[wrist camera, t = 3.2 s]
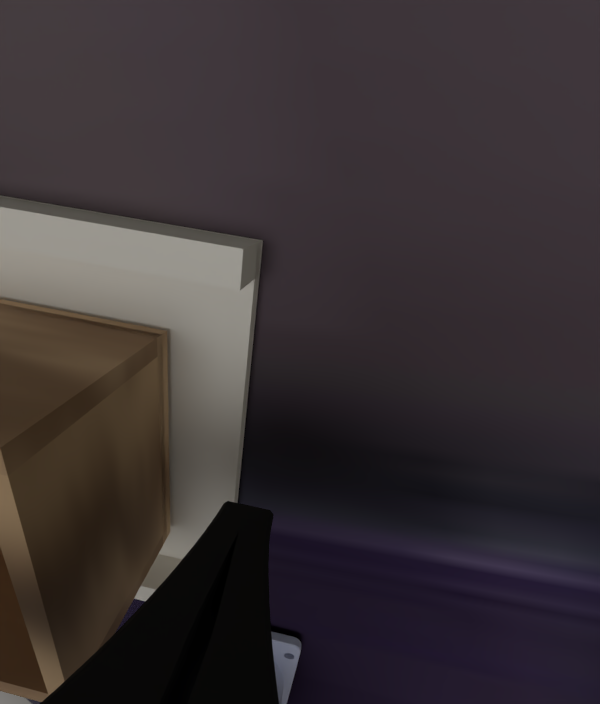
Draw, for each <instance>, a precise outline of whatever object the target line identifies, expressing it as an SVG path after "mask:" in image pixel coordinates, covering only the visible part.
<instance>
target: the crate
mask: <svg viewBox="0 0 600 704" xmlns="http://www.w3.org/2000/svg"><path fill="white" fill-rule="evenodd" d="M169 534H170V477H169V415H168V354H167V331H165V330H159V329H154V328H149V327H144V326H139V325H133V324H128V323H123V322H118V321H113V320H107V319H102V318H97V317H92V316H87V315H81V314H76V313H71V312H66V311H60V310H55V309H50V308H45V307H40V306H34V305H29V304H24V303H19V302H14V301H8V300H3V299H0V691H3V692H6V693H10V694H14V695H17V696H21V697H25V698H28V699H32V700H36V701H39V702H42V701H43V700H45V699H46V698H47V697H48V696H49V695H50V694H51V693H52V692H54V691H55V690H56V689H57V688H58V687H59V686H60V685H61V684H62V683H63V682H65V681H66V680H67V679H68V678H69V677H70V676H71V675H72V674H73V673H74V672H75V671H76V670H77V669H78V668H80V667H81V666H82V665H83V664H84V663H85V662H86V661H87V660H88V659H89V658H90V657H91V656H92V655H93V654H94V653H96V652H97V651H98V650H99V649H100V648H101V647H102V646H103V645H104V644H105V643H106V642H107V641H108V640H109V639H110V638H111V637H112V636H113V635H114V634H115V632H116V630H117V628H118V627H119V625H120V623H121V621H122V619H123V618H124V616H125V614H126V612H127V610H128V608H129V607H130V605H131V603H132V601H133V599H134V597H135V596H136V594H137V592H138V590H139V588H140V586H141V585H142V583H143V581H144V579H145V577H146V576H147V574H148V572H149V570H150V568H151V566H152V565H153V563H154V561H155V559H156V557H157V555H158V554H159V552H160V550H161V548H162V546H163V544H164V543H165V541H166V539H167V537H168V535H169Z"/></svg>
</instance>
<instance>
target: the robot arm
mask: <svg viewBox="0 0 600 704" xmlns="http://www.w3.org/2000/svg"><path fill="white" fill-rule="evenodd" d="M272 520H273V513H272V512H271V511H270V510H266V509H262V508H257V507H253V506H248V505H244V504H239V503H235V502H231V501H227V502H225V503H224V504H223V505H222V507H221V509H220V510H219V512H218V513H217V515H216V516H215V518H214V519H213V520H212V522H211V523H210V525H209V526H208V527H207V529H206V530H205V531H204V533H203V534H202V535H201V537H200V538H199V539H198V541H197V542H196V543H195V545H194V546H193V547H192V548H191V549H190V551H189V552H188V553H187V554H186V556H185V557H184V558H183V559H182V560H181V562H180V563H179V564H178V565H177V567H176V568H175V569H174V570H173V571H172V572H171V574H170V575H169V576H168V577H167V578H166V579H165V580H164V582H163V583H162V584H161V585H160V586H159V587H158V588H157V589H156V590H155V592H154V593H153V594H152V595H151V596H150V597H149V598H148V599H147V600H146V602H145V603H144V604H143V605H142V606H141V607H140V608H139V609H138V610H137V611H136V612H135V613H134V614H133V615H132V616H131V618H130V619H129V620H128V621H127V622H126V623H125V624H124V625H123V626H122V627H121V628H120V629H119V630H118V631H117V632H116V633H115V634H114V635H113V636H112V637H111V638H110V639H109V640H108V641H107V642H106V643H105V644H104V645H103V646H102V647H101V648H100V649H99V650H98V651H97V652H96V653H94V654H93V655H92V656H91V657H90V658H89V659H88V660H87V661H86V662H85V663H84V664H83V665H82V666H81V667H80V668H78V669H77V670H76V671H75V672H74V673H73V674H72V675H71V676H70V677H69V678H68V679H67V680H66V681H65V682H63V683H62V684H61V685H60V686H59V687H58V688H57V689H56V690H55V691H54V692H52V693H51V694H50V695H49V696H48V697H47V698H46V699H45V700H43V701H42V702H41V703H40V704H287V701H288V697H289V693H290V690H291V686H292V682H293V678H294V675H295V671H296V667H297V664H298V660H299V656H300V653H301V642H300V640H299V639H297V638H296V637H293V636H289V635H285V634H281V633H276V632H272V631H271V623H270V607H269V579H268V559H269V539H270V532H271V526H272Z"/></svg>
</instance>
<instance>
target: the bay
mask: <svg viewBox="0 0 600 704" xmlns="http://www.w3.org/2000/svg"><path fill="white" fill-rule="evenodd" d="M262 246H263V240H258V239H252V238H246V237H240V236H235V235H229V234H223V233H217V232H211V231H205V230H200V229H194V228H188V227H182V226H176V225H170V224H165V223H159V222H153V221H147V220H141V219H135V218H130V217H124V216H118V215H112V214H106V213H100V212H95V211H89V210H83V209H77V208H71V207H65V206H59V205H54V204H48V203H42V202H36V201H30V200H24V199H19V198H13V197H7V196H1V195H0V299H3V300H8V301H14V302H19V303H24V304H29V305H34V306H40V307H45V308H50V309H55V310H60V311H66V312H71V313H76V314H81V315H87V316H92V317H97V318H102V319H107V320H113V321H118V322H123V323H128V324H133V325H139V326H144V327H149V328H154V329H159V330H165V331H167V354H168V415H169V477H170V534H169V535H168V537H167V539H166V541H165V543H164V544H163V546H162V548H161V550H160V552H159V554H158V555H157V557H156V559H155V561H154V563H153V565H152V566H151V568H150V570H149V572H148V574H147V576H146V577H145V579H144V581H143V583H142V585H141V586H140V588H139V590H138V592H137V594H136V596H135V597H134V599H138V600H142V601H146V600H147V599H148V598H149V597H150V596H151V595H152V594H153V593H154V592H155V590H156V589H157V588H158V587H159V586H160V585H161V584H162V583H163V582H164V580H165V579H166V578H167V577H168V576H169V575H170V574H171V572H172V571H173V570H174V569H175V568H176V567H177V565H178V564H179V563H180V562H181V560H182V559H183V558H184V557H185V556H186V554H187V553H188V552H189V551H190V549H191V548H192V547H193V546H194V545H195V543H196V542H197V541H198V539H199V538H200V537H201V535H202V534H203V533H204V531H205V530H206V529H207V527H208V526H209V525H210V523H211V522H212V520H213V519H214V518H215V516H216V515H217V513H218V512H219V510H220V509H221V507H222V505H223V504H224V503H225V502H227V501H231V502H235V503H238V493H239V483H240V473H241V462H242V452H243V442H244V431H245V421H246V411H247V401H248V390H249V380H250V370H251V359H252V349H253V339H254V329H255V318H256V308H257V298H258V287H259V277H260V267H261V257H262Z"/></svg>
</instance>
